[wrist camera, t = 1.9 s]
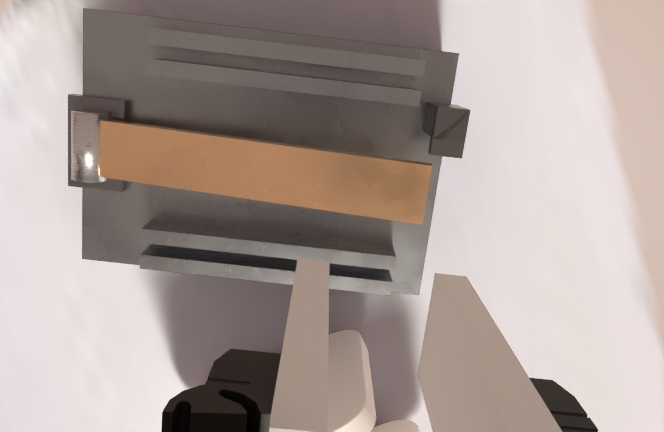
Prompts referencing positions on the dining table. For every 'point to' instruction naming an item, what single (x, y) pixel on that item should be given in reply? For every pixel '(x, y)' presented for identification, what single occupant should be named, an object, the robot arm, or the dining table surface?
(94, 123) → the strap
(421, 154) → the grey stepped block
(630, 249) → the dining table surface
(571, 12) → the dining table surface
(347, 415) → the cable organizer
